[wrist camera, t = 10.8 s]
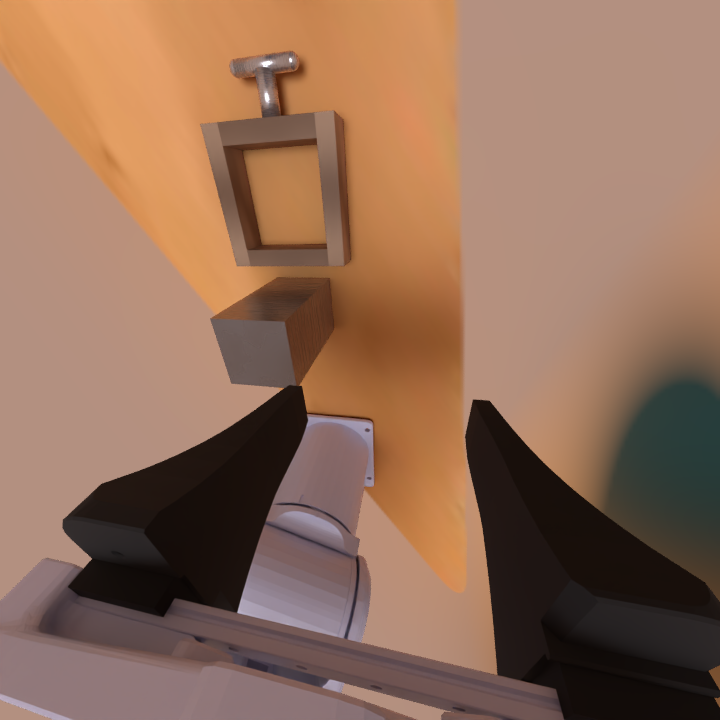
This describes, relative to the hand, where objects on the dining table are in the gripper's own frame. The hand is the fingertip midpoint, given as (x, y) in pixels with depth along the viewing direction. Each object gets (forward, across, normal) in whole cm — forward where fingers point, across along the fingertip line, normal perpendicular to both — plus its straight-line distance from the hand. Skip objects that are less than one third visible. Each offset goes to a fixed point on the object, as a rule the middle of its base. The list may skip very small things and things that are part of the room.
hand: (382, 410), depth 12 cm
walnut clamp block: (+10, +7, -9) cm, 16 cm away
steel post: (+10, +7, -1) cm, 13 cm away
